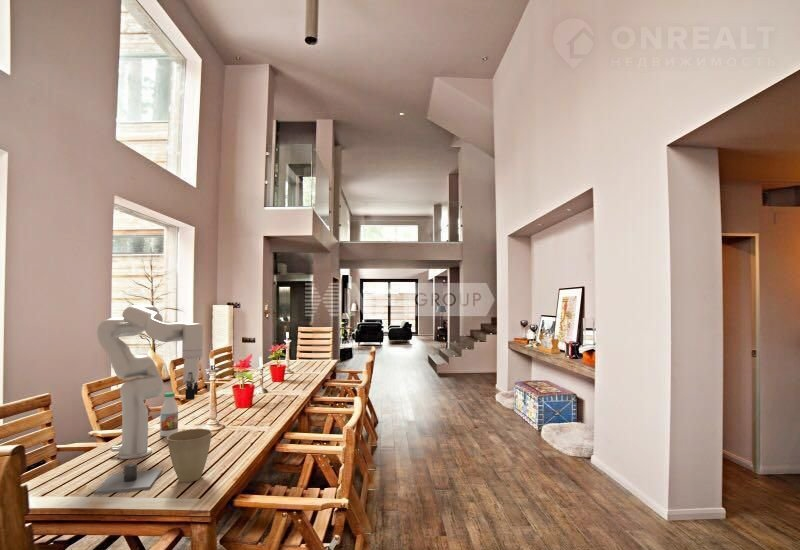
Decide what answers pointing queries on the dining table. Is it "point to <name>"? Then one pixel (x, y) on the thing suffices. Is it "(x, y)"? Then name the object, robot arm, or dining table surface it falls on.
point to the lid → (129, 480)
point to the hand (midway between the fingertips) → (191, 396)
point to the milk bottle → (169, 415)
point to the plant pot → (189, 452)
